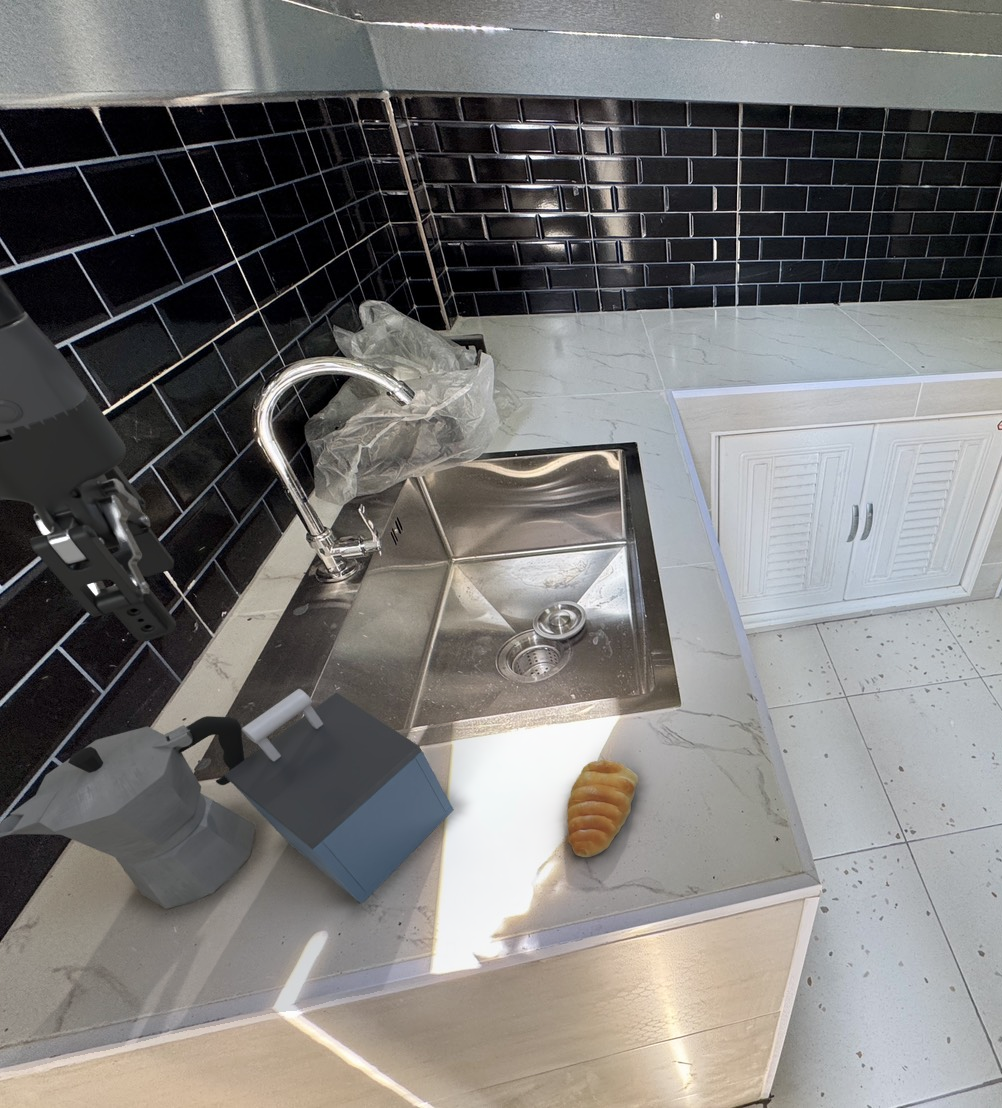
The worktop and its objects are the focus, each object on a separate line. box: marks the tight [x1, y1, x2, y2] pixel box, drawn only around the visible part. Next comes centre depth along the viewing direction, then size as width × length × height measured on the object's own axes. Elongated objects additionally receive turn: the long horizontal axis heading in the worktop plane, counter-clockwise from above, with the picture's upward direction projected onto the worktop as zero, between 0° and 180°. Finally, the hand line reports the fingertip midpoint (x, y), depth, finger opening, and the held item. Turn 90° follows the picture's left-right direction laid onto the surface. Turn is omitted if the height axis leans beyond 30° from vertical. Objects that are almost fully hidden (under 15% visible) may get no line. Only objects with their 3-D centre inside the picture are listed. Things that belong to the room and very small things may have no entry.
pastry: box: [566, 759, 639, 858], centre depth 62 cm, size 9×7×4 cm
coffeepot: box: [0, 715, 256, 910], centre depth 54 cm, size 15×9×18 cm, turn 136°
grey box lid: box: [223, 688, 423, 849], centre depth 53 cm, size 12×11×6 cm
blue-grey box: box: [233, 750, 455, 905], centre depth 58 cm, size 12×11×11 cm
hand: (159, 600), depth 46 cm, fingers open, 8 cm apart
